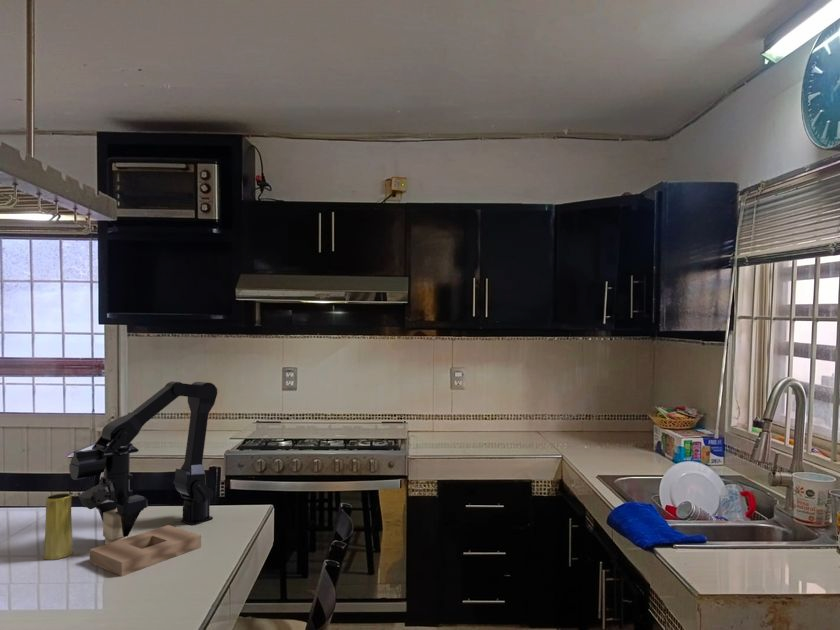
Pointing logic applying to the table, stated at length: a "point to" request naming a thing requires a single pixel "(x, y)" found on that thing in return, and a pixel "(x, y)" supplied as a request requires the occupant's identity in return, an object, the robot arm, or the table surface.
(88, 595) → the table surface
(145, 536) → the board
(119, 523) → the peg
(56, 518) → the vase
